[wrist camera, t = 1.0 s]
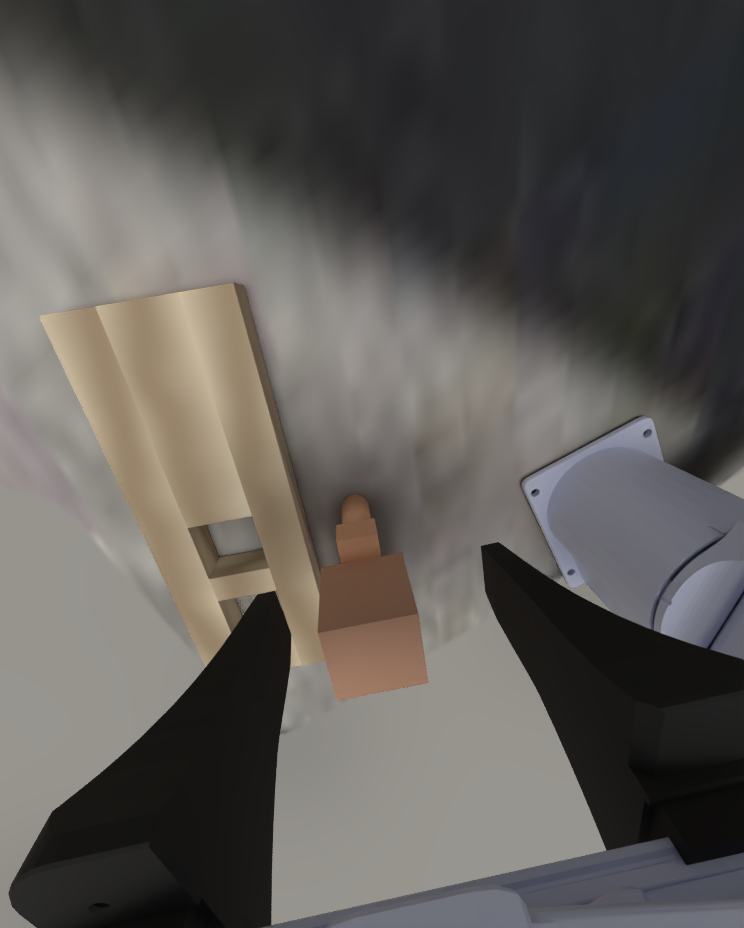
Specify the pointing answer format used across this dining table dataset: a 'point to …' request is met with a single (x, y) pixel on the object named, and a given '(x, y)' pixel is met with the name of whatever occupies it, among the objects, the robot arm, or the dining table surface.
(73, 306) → the dining table surface
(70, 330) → the rail
